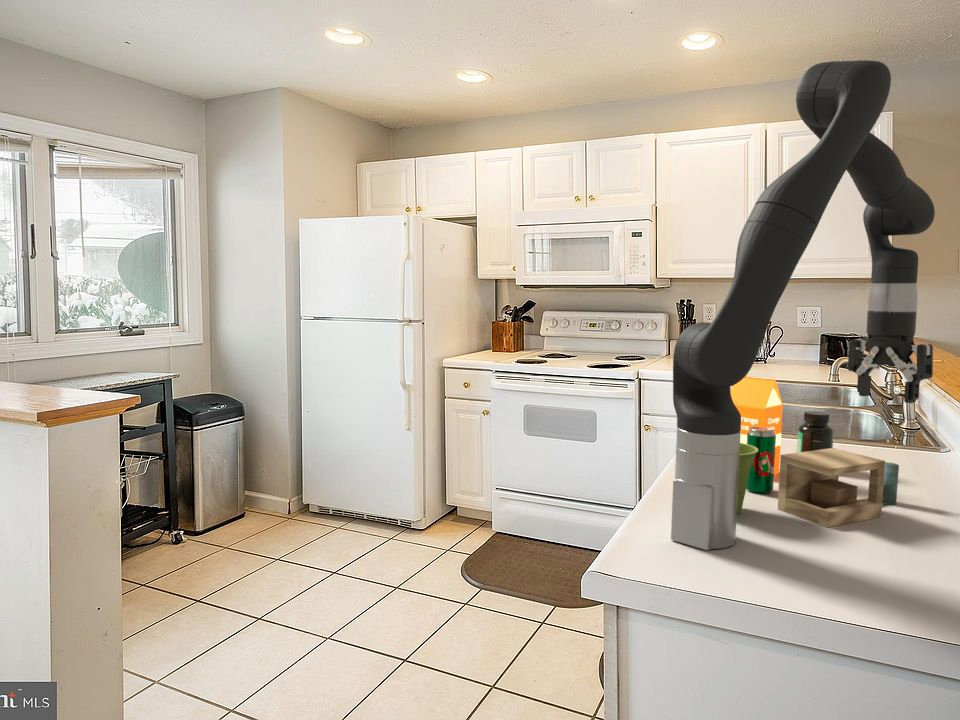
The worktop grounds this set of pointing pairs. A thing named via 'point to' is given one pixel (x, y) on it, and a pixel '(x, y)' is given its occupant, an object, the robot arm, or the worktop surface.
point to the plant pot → (744, 471)
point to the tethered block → (852, 490)
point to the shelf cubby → (823, 466)
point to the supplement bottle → (815, 432)
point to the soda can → (762, 460)
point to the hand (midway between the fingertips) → (886, 399)
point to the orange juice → (759, 408)
